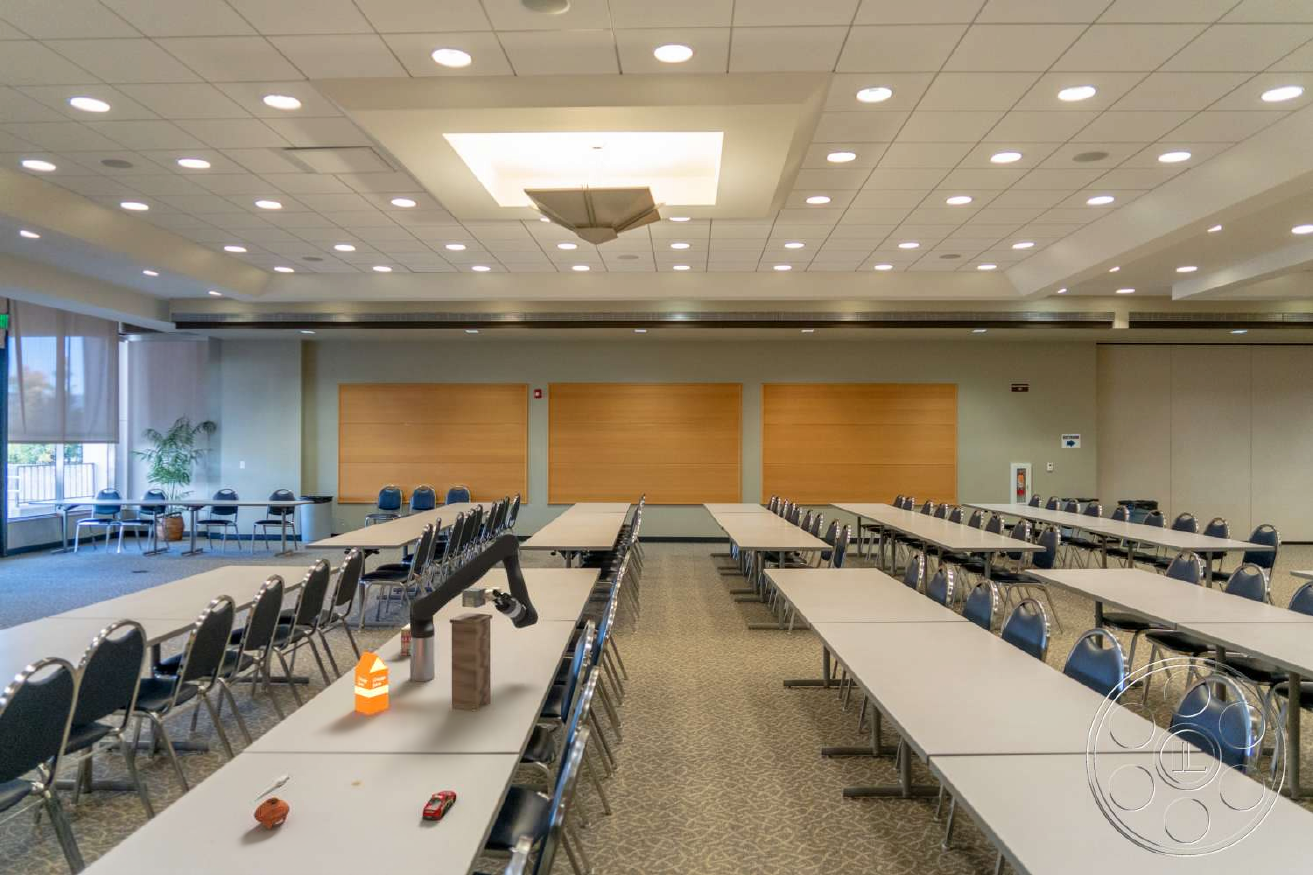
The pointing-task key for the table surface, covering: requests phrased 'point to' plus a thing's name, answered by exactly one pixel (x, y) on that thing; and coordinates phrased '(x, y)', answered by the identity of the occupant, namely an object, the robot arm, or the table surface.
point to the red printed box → (406, 640)
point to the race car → (439, 805)
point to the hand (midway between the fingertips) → (488, 591)
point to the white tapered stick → (274, 785)
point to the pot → (271, 812)
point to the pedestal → (471, 661)
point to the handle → (477, 596)
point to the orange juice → (371, 684)
